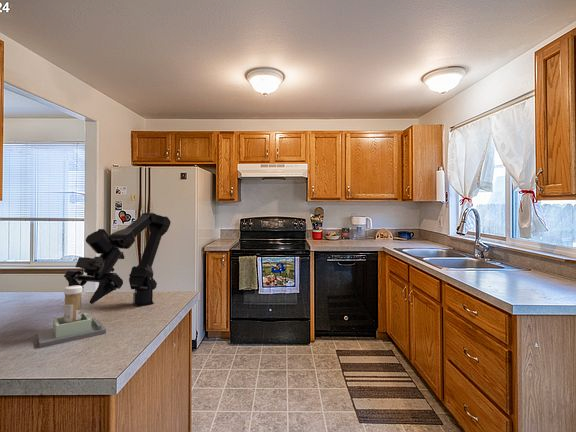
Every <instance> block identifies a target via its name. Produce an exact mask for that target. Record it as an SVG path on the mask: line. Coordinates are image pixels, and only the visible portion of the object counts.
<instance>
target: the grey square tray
mask: <svg viewBox="0 0 576 432" xmlns="http://www.w3.org/2000/svg"><path fill="white" fill-rule="evenodd" d="M64 323H65V321H64V316H59V317H58V316H57V317H53V318H52V328H51V327H50V328H46V329H40V330H37V331H36V337H37V341H38V345H39V348H46V347H49V346H50V347H51V346H55V345H59V344H64V343H68V342H69V343H70V342H73V341H78V340H81V339H82V340H83V339H86V338H91V337H96V336H99V335H105V334H107V329H106V327H105V326H104V325H103V324H102V323H101V321H100V320H99V319H97V318H96V317H92V318H91V317H90V316H89V314H88V313H87V312H81V321H76V322H71V323H66V324H64Z"/></svg>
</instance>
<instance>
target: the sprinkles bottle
mask: <svg viewBox="0 0 576 432" xmlns="http://www.w3.org/2000/svg"><path fill="white" fill-rule="evenodd" d="M63 291H64V293H63V294H64V307H63V309H64V314H63V315H64V316H63V317H64V321H65V323H64V324H66V323H71V322H76V321H81V313H82V294H83V288H82V286H80V285H75V286H69V285H67V286H65V287H64V290H63Z"/></svg>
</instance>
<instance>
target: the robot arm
mask: <svg viewBox="0 0 576 432" xmlns="http://www.w3.org/2000/svg"><path fill="white" fill-rule="evenodd" d="M170 226H171V219H170V218H169V217H168V216H163V215H161V214H160V215H159V214H156V213H154V212H143V213H142V214H141V215H140V216H139V217H138V218H137V219H136V220H134V221H132V222H131V223H130V224H129V225H127V227H126V228H124V229H123V228H122V229H120V230H116V231H114V232H113V233H111V234H110V235H109V234H108V233H107V231H106V230H105V228H98V230H97V231H96V230H95V231H94V232H91V233H90V234H89V235H87V236H86V238H85V242H86V244H87V245H88V246H89V247H90V248H91V249H92V250H93V251H94V253H96V254H98V255H99V256H94V257H93V258H92V257H86V256H85V257H84V256H83V257H82V256H79V257H78V259H77V262H76V264H75V268H80V269H82V271H83V272H84V273H82V272H81V270H73V269H71V270H70V269H69V270H67V271H66V272H65V274H64V275H63V277H64V278H65V280H66V281H67V283H68V286H75V285H80V286H82V289H83V288H84V285H87V282H92V283H98V287H97V288H96V290H95V291H94V293H93V295H92V296H91V297H90V300H89V304H90V305H93V304H94V303H96V302H98V301H99V300H101V299H102V298H103V297H105V296H107V295H108V294H110V293H111V292H114V291H117V289H118V290H120V289H121V288H122V286H123V284H124V281H123V279H122V277H120V276H119V275H118V273H116V272H114V271H115V268H114V267H115V265H116V263H118V261H119V260H125V254H124V251H121V250H122V249H123V250H124V249H125V250H127V249H130V248H131V247H132V245H134V243H135V242H136V237H137V236H138V235H140V234H141V233H142V232H143V231H144V230H145V229H146V228H147V227H148V231H149V236H148V239H147V241H146V244H145V247H144V250H143V253H142V255H141V258H140V260H139V264H138V265H136V266H135V265H134V266H132V267H131V270H130V273H129V275H128V276H129V278H128V283H129V286H130V290H134V292H133V294H132V304H133V305H135V306H136V307H143V306H147V305H152V304H155V302H154V301H153V297H154V296H153V290H155V289H157V284H158V283H157V282H156V280H155V278H154V271H153V265H154V261H155V258H156V255H157V252H158V249H159V247H160V246H159V245H160V243H161V240H162V237H163V236H164V235H165V234H166V233H167V232H168V231H169V228H170Z"/></svg>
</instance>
